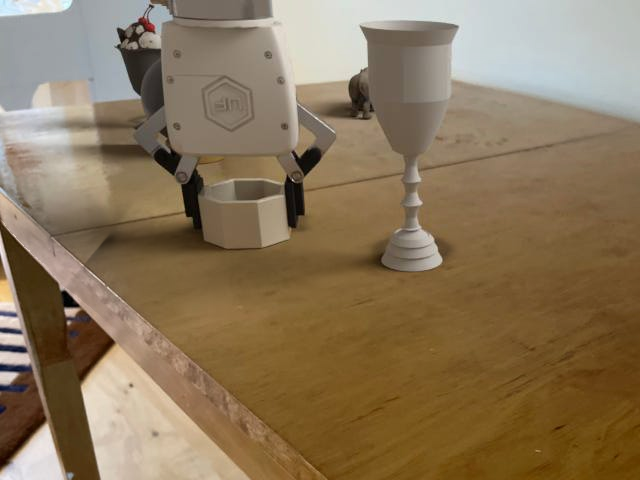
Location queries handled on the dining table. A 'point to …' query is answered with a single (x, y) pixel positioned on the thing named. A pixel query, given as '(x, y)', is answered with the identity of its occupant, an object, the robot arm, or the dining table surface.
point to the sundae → (139, 50)
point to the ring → (244, 213)
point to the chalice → (410, 115)
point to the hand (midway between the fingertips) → (247, 222)
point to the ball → (160, 101)
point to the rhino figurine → (360, 94)
